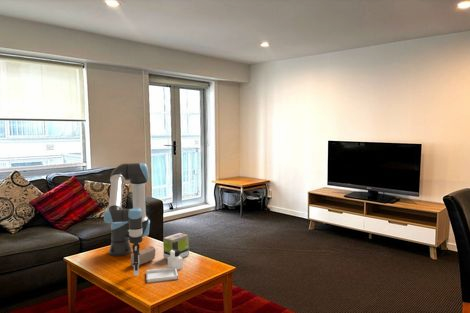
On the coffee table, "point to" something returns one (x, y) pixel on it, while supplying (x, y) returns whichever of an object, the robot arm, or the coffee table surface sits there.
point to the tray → (161, 274)
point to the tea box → (176, 244)
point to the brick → (144, 255)
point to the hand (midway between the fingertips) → (136, 270)
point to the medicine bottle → (175, 259)
